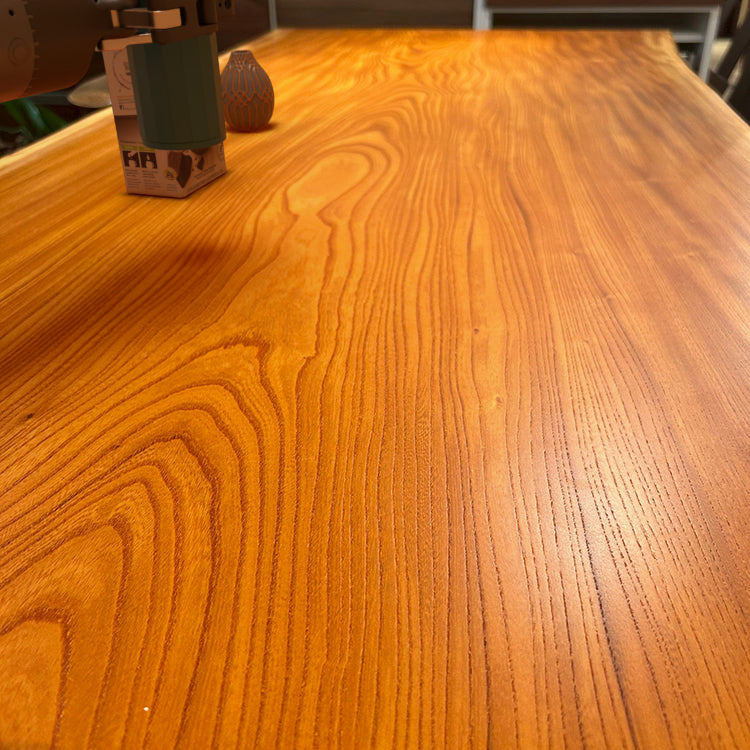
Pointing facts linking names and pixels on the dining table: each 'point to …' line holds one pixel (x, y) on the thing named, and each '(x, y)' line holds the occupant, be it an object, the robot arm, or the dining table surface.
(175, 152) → the coffee box
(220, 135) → the bottle
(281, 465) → the dining table surface
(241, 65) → the vase
